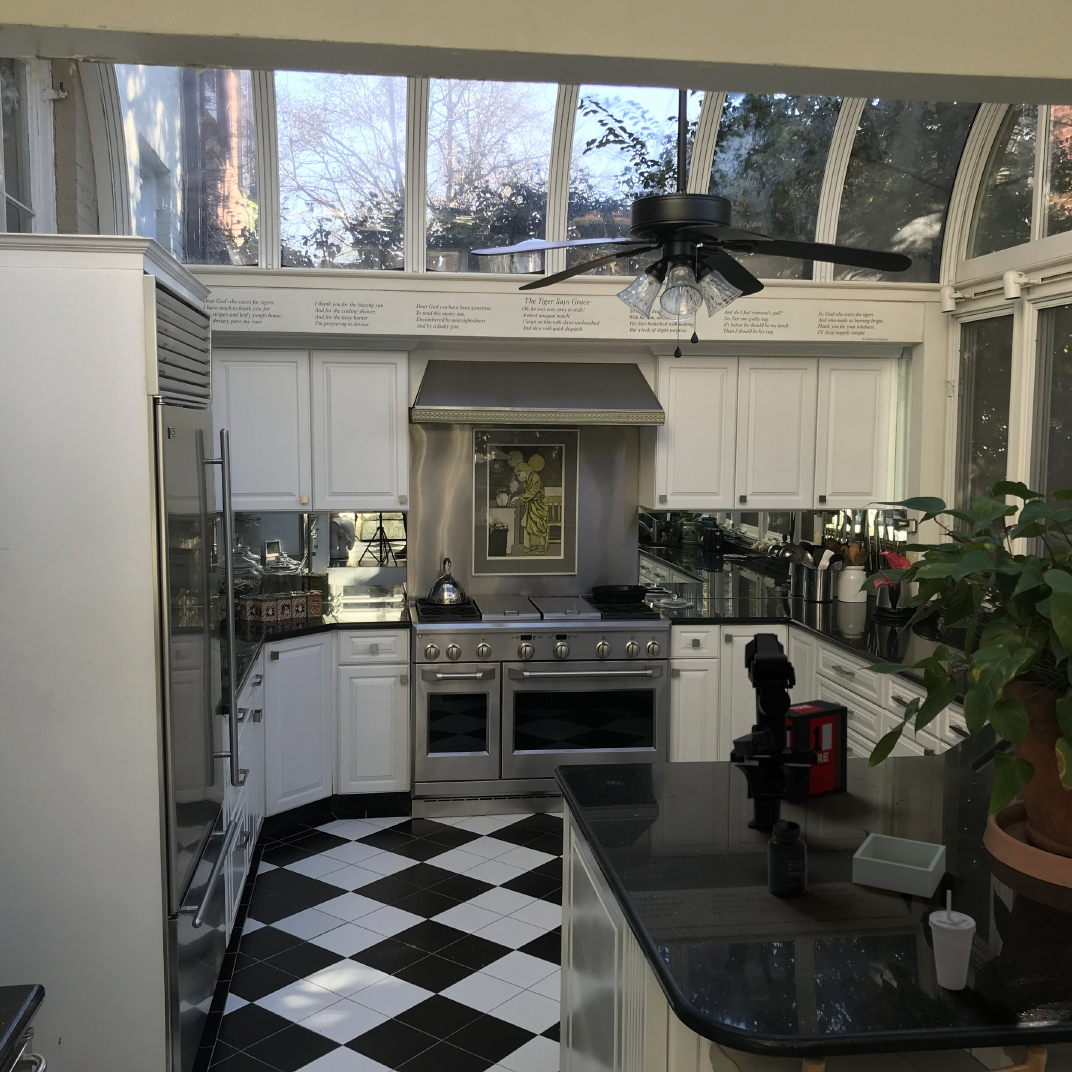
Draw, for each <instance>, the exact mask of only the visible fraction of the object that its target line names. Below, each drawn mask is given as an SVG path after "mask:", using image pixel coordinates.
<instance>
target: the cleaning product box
mask: <svg viewBox="0 0 1072 1072" xmlns="http://www.w3.org/2000/svg"><path fill="white" fill-rule="evenodd" d="M787 726H792V731H787V740H788V747H792V749H813V750H815V751H816V753H817V754H818V765H810V767H813V769H811V770H810V771H809V773H808V775H807V777H806V778H805V780H804V782H803V784H802V786H801V788H800V790H799V793H798V795H797V797H796V799H795V801H794V804H795V805H798V804H802V803H807V802H810V801H814V800H818V799H824V798H827V797H831V796H835V795H840V794H843V793H847V792H848V706H845V705H841V704H837V703H833V702H829V701H827V700H826V701H825V700H822V699H815V700H809V701H804V702H799V703H791V706H790V708H789V710H788V712H787ZM785 766H788V764H786V763H785ZM787 801H788V800H785V801H784V802H787ZM794 804H793V805H794Z"/></svg>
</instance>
